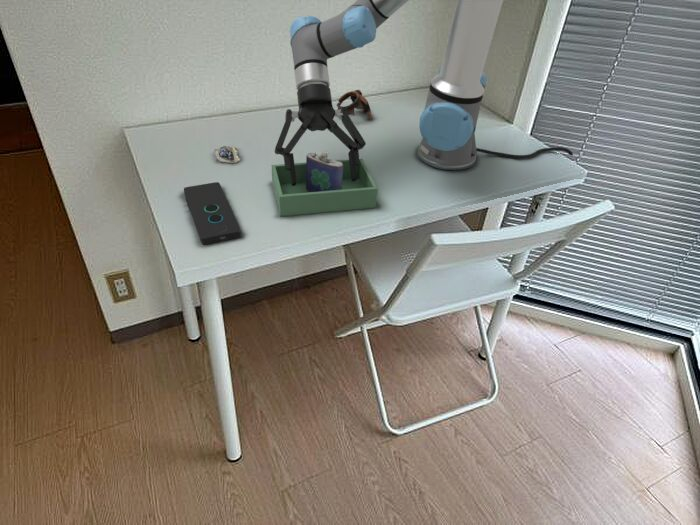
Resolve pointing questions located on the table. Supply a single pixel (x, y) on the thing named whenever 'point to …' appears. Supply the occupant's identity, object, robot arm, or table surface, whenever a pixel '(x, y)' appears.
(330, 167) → the flask
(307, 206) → the open box
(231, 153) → the geode half
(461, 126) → the robot arm
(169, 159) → the table surface
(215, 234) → the smart home device
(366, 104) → the brown looped sculpture
